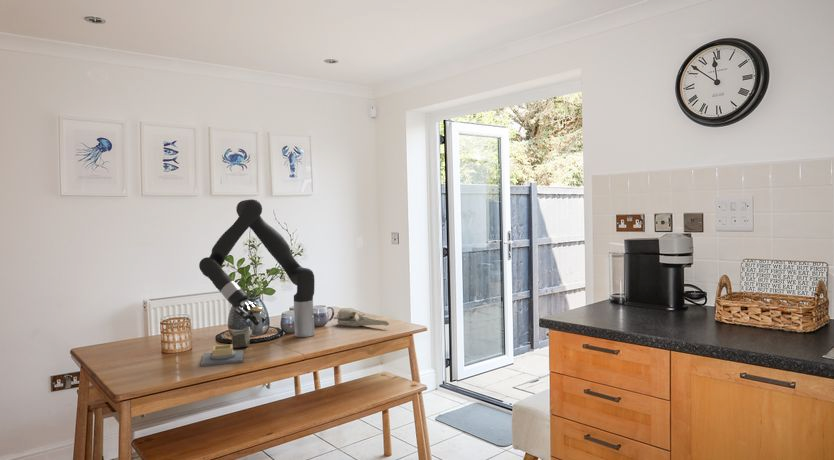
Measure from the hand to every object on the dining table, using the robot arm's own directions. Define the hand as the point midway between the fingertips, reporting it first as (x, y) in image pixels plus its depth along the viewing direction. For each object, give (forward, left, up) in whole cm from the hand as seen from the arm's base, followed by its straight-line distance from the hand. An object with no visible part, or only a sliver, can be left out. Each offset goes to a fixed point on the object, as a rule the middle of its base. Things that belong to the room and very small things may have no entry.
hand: (261, 322), depth 228 cm
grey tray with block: (+16, -1, -14) cm, 21 cm away
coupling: (+2, -1, -5) cm, 5 cm away
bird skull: (-51, -39, -14) cm, 66 cm away
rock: (+9, -23, -15) cm, 29 cm away
